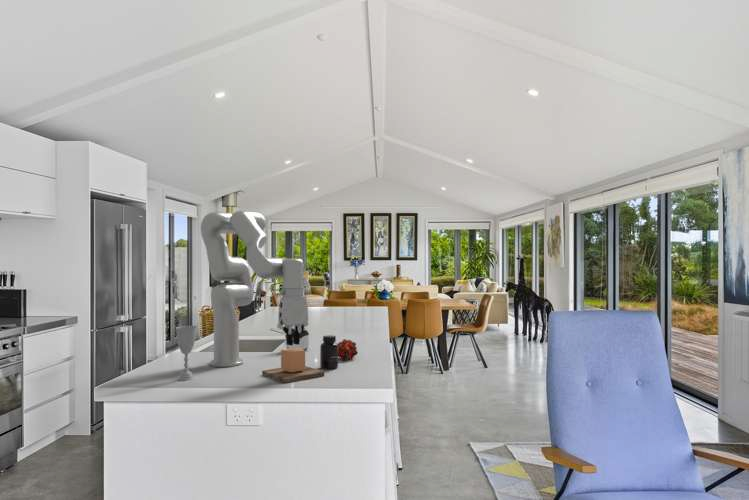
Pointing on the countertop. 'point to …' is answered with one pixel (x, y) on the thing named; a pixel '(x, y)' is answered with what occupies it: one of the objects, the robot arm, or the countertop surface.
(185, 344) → the chalice
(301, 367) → the peach colored cube
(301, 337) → the spread jar
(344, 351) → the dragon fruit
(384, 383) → the countertop surface
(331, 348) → the supplement bottle
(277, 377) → the walnut board
